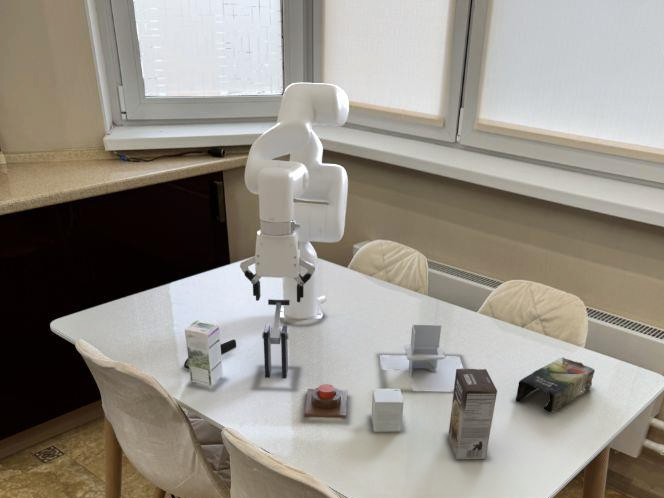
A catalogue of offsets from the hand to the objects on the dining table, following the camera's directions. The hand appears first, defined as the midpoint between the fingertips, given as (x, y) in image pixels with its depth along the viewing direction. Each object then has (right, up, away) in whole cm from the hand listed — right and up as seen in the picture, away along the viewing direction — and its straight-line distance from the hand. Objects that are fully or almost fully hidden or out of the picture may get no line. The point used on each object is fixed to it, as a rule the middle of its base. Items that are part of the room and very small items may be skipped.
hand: (278, 299), depth 164 cm
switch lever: (0, -6, -1) cm, 6 cm away
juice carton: (+65, -23, 0) cm, 69 cm away
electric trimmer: (-18, -14, +9) cm, 24 cm away
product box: (+25, -30, -14) cm, 41 cm away
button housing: (+12, -26, -9) cm, 30 cm away
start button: (+12, -23, -11) cm, 28 cm away
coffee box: (+41, -35, -20) cm, 58 cm away
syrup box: (-17, -20, -1) cm, 26 cm away
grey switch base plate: (+35, -17, +7) cm, 40 cm away
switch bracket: (-1, -19, +2) cm, 19 cm away
